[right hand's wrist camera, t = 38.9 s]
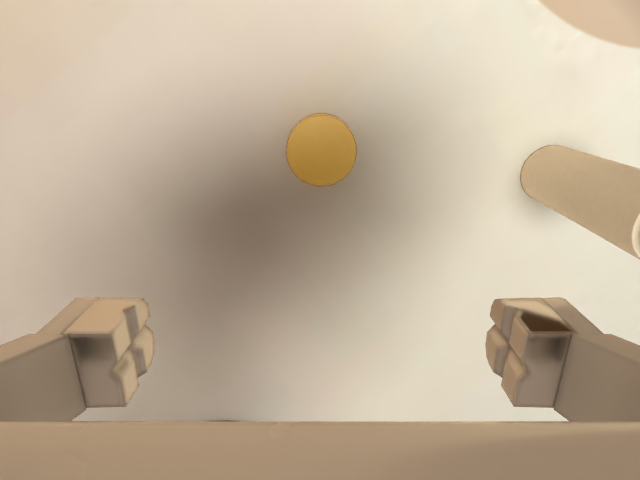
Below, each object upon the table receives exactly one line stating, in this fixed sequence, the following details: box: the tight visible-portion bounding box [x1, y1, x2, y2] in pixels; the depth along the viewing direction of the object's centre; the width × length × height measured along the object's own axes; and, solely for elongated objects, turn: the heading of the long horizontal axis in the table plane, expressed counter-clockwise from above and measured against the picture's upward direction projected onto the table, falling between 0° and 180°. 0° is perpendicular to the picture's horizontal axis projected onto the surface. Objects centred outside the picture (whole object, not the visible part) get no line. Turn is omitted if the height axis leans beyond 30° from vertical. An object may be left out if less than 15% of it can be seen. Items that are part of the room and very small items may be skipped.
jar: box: [521, 145, 640, 259], centre depth 29 cm, size 5×5×16 cm
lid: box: [286, 113, 356, 186], centre depth 34 cm, size 5×5×2 cm
